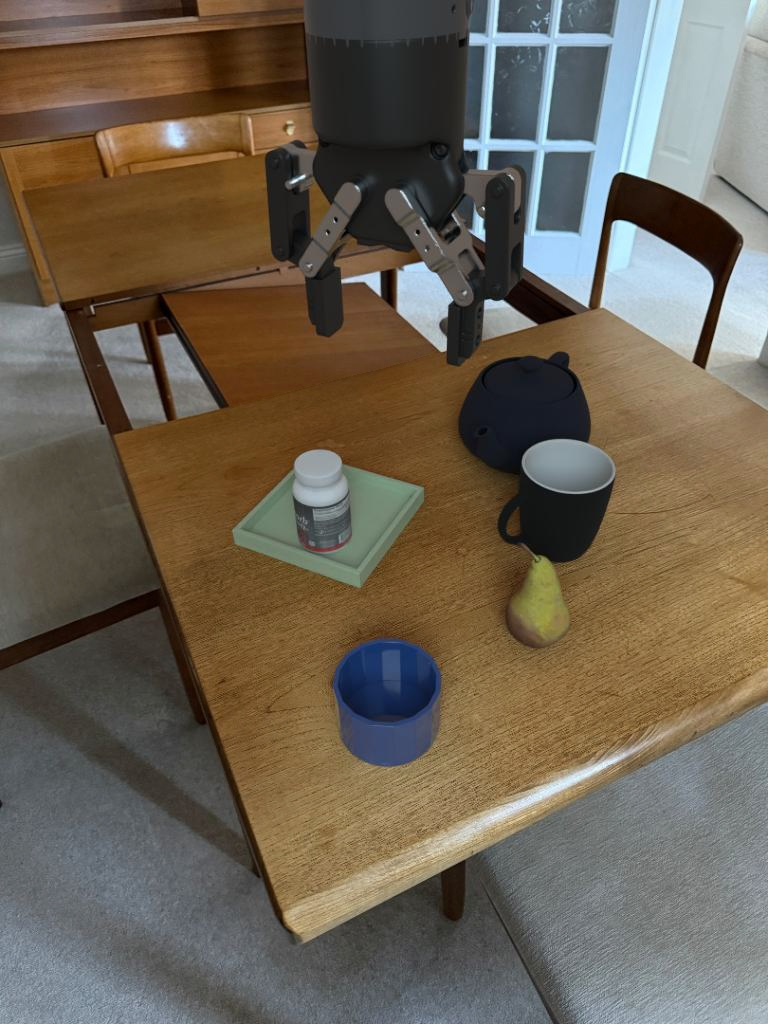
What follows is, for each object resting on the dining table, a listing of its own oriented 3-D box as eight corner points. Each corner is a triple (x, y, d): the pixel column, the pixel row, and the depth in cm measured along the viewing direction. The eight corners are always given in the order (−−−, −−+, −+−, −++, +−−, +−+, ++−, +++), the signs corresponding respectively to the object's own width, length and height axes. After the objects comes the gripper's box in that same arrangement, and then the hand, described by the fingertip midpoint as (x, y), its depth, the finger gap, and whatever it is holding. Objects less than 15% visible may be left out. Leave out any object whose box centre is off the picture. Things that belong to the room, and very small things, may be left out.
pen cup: (412, 783, 57) (412, 743, 54) (319, 741, 60) (313, 700, 57) (455, 701, 63) (457, 660, 59) (367, 666, 66) (365, 625, 62)
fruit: (553, 670, 65) (572, 572, 57) (493, 644, 67) (503, 547, 60) (575, 628, 69) (596, 531, 61) (518, 605, 71) (530, 509, 63)
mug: (563, 505, 82) (576, 429, 76) (617, 554, 76) (636, 475, 70) (471, 540, 78) (476, 462, 72) (520, 594, 72) (531, 514, 66)
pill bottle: (292, 527, 80) (282, 452, 73) (343, 515, 81) (337, 440, 75) (306, 562, 76) (296, 485, 69) (359, 549, 77) (354, 472, 71)
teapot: (503, 390, 102) (511, 306, 94) (614, 422, 95) (632, 334, 87) (410, 487, 86) (410, 395, 78) (536, 532, 79) (549, 436, 71)
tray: (360, 588, 73) (359, 574, 72) (234, 544, 79) (231, 530, 77) (424, 501, 84) (424, 487, 82) (309, 467, 89) (307, 453, 88)
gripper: (209, 25, 34) (257, 349, 44) (508, 38, 28) (482, 402, 39) (298, 6, 39) (322, 300, 49) (564, 14, 34) (528, 342, 44)
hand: (393, 345), depth 44 cm, fingers open, 8 cm apart
